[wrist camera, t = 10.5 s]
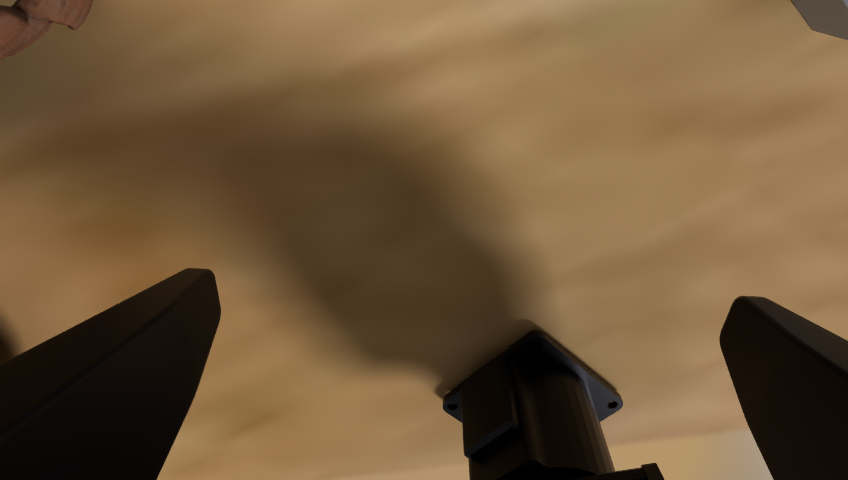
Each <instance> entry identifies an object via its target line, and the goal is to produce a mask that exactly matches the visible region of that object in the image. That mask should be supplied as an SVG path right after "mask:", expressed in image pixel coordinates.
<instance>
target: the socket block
mask: <svg viewBox="0 0 848 480" xmlns="http://www.w3.org/2000/svg"><path fill="white" fill-rule="evenodd" d="M791 1H792V2H793V4H794V5H795V6H796V8H797V9H798V11H799V12H800V13H801V15H802V16H803V18H804V19H805V21H806V22H807V23H808V25H809V26H810V28H811V29H812V30H813V31H817V32H820V33H824V34H828V35H831V36H835V37H838V38H842V39H845V40H848V0H791Z"/></svg>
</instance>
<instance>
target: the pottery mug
mask: <svg viewBox="0 0 848 480" xmlns="http://www.w3.org/2000/svg"><path fill="white" fill-rule="evenodd" d="M92 2H93V0H17V1H16V2H15V3H14V5H13V6H11V7H8V6H0V59H2V58H5V57H7V56H11V55H14V54H16V53H17V52H19V51H21V50H23V49H24V48H26V47H28V46H29V45H31V44H32V43H33V42H35V41H36V40H37V39H39V38H40V37H41V36H42V35H43V34H44V33H45V32H47V31H48V29H49V28H50V26H51V24H52V23H53V22H55V23H58V24H62V25H67V26H68V27H69V28H70V29H72V30H77V29H78V28H79V27H80V25H81V24H82V23H83V22H84V21H85V19H86V17H87V15H88V13H89V11H90V8H91V5H92Z"/></svg>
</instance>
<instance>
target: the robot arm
mask: <svg viewBox="0 0 848 480" xmlns="http://www.w3.org/2000/svg"><path fill="white" fill-rule="evenodd" d="M220 316H221V307H220V301H219V296H218V290H217V285H216V280H215V276H214V273H213V272H212V271H211V270H210V269H198V268H187V269H184V270H183V271H181V272H179V273H177V274H175V275H173V276H171V277H169V278H167V279H165V280H163V281H161V282H159V283H157V284H155V285H153V286H152V287H150V288H148V289H146V290H144V291H142V292H140V293H138V294H136V295H134V296H132V297H130V298H128V299H126V300H124V301H122V302H120V303H119V304H117V305H115V306H113V307H111V308H109V309H107V310H105V311H103V312H101V313H99V314H97V315H95V316H93V317H91V318H89V319H88V320H86V321H84V322H82V323H80V324H78V325H76V326H74V327H72V328H70V329H68V330H66V331H64V332H62V333H60V334H58V335H57V336H55V337H53V338H51V339H49V340H47V341H45V342H43V343H41V344H39V345H37V346H35V347H33V348H31V349H29V350H27V351H25V352H24V353H22V354H20V355H18V356H16V357H14V358H12V359H10V360H8V361H6V362H4V363H2V364H0V480H157V477H158V475H159V473H160V471H161V469H162V467H163V465H164V462H165V460H166V458H167V456H168V454H169V452H170V449H171V447H172V445H173V443H174V441H175V439H176V437H177V434H178V432H179V430H180V428H181V426H182V424H183V421H184V419H185V417H186V415H187V413H188V411H189V408H190V406H191V404H192V401H193V399H194V397H195V394H196V391H197V389H198V386H199V383H200V380H201V377H202V374H203V371H204V368H205V364H206V361H207V358H208V355H209V352H210V349H211V346H212V343H213V340H214V337H215V334H216V331H217V328H218V325H219V321H220ZM534 341H540V342H539V343H533V342H534ZM720 346H721V350H722V353H723V356H724V358H725V361H726V364H727V367H728V370H729V373H730V376H731V379H732V381H733V384H734V387H735V390H736V393H737V396H738V399H739V402H740V404H741V407H742V410H743V413H744V416H745V418H746V421H747V423H748V426H749V428H750V430H751V433H752V435H753V437H754V439H755V441H756V443H757V446H758V448H759V450H760V452H761V454H762V456H763V458H764V460H765V462H766V464H767V467H768V469H769V471H770V473H771V475H772V477H773V479H774V480H848V341H847V340H845V339H843V338H841V337H840V336H838V335H836V334H834V333H832V332H830V331H828V330H826V329H824V328H822V327H820V326H819V325H817V324H815V323H813V322H811V321H809V320H807V319H805V318H803V317H801V316H799V315H797V314H796V313H794V312H792V311H790V310H788V309H786V308H784V307H782V306H780V305H778V304H776V303H775V302H773V301H771V300H769V299H767V298H764V297H756V296H740V297H738V298H736V299H735V300H734V302H733V304H732V306H731V308H730V311H729V313H728V315H727V318H726V320H725V323H724V325H723V328H722V330H721V333H720ZM611 401H613V402H611ZM450 403H455V404H450ZM622 406H623V401H622V399H621V396H620V395H619V393H617V392H616V391H615V390H614V389H612V388H611V387H610V386H609V385H608V384H606V383H605V382H604V381H603V380H601V379H600V378H599V377H598V376H596V375H595V374H594V373H593V372H591V371H590V370H589V369H588V368H586V367H585V366H584V365H583V364H582V363H580V362H579V361H578V360H577V359H575V358H574V357H573V356H572V355H570V354H569V353H568V352H567V351H565V350H564V349H563V348H562V347H560V346H559V345H558V344H557V343H555V342H554V341H553V340H552V339H551V338H549V337H548V336H547V335H546V334H544V333H543V332H541V331H532V332H530V333H528V334H527V335H525V336H524V337H523V338H521V339H520V340H519V341H517V342H516V343H515V344H513V345H512V346H511V347H509V348H508V349H507V350H505V351H504V352H503V353H501V354H500V355H499V356H496V357H495V358H494V359H492V360H491V361H490V362H488V363H487V364H486V365H484V366H483V367H482V368H480V369H479V370H478V371H476V372H475V373H474V374H472V375H471V376H470V377H468V378H467V379H466V380H464V381H463V382H462V383H461V384H460V385H459V386H457V387H456V388H455V389H453V390H452V391H451V392H449V393H448V394H447V395H445V397H444V398H443V409H444V411H445V412H447V413H448V414H450V415H451V416H453V417H454V418H456V419H457V420H459V421H460V422H462V423H463V446H464V455H465V456H466V457H467V458H469V475H470V480H664V478H663V476H662V474H661V472H660V470H659V468H658V466H657V464H656V463H651V464H645V465H641V467H642V468H635V469H628V470H622V471H615V469H614V466H613V463H612V460H611V456H610V453H609V450H608V447H607V444H606V441H605V438H604V435H603V431H602V428H601V425H600V421H602V420H604V419H605V418H607V417H608V416H610V415H612V414H613V413H615V412H616V411H618V410H619V409H621V408H622Z"/></svg>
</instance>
